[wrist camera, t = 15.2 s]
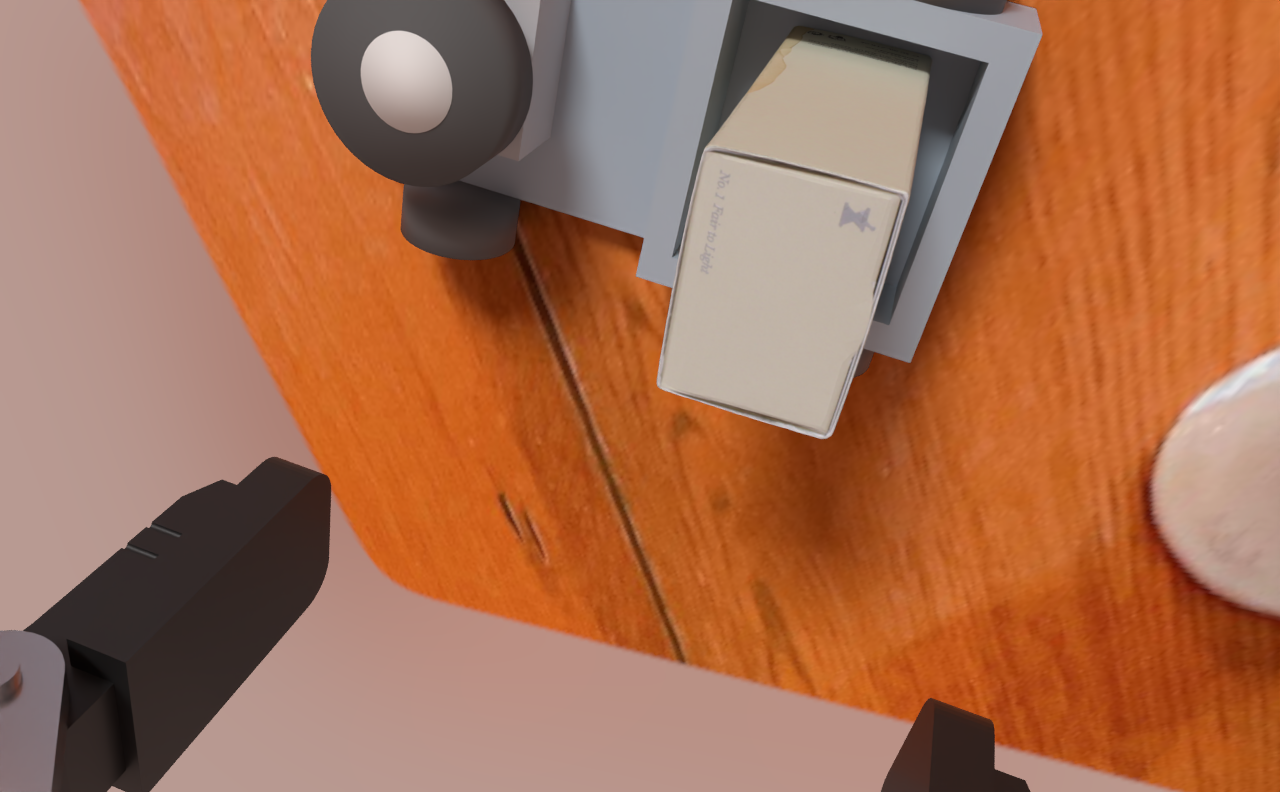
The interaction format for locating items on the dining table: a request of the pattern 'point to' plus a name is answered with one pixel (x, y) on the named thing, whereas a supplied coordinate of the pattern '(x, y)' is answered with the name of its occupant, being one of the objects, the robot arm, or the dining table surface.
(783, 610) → the dining table surface
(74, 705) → the robot arm
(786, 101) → the skincare box
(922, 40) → the chassis
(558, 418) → the dining table surface
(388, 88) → the wheel
